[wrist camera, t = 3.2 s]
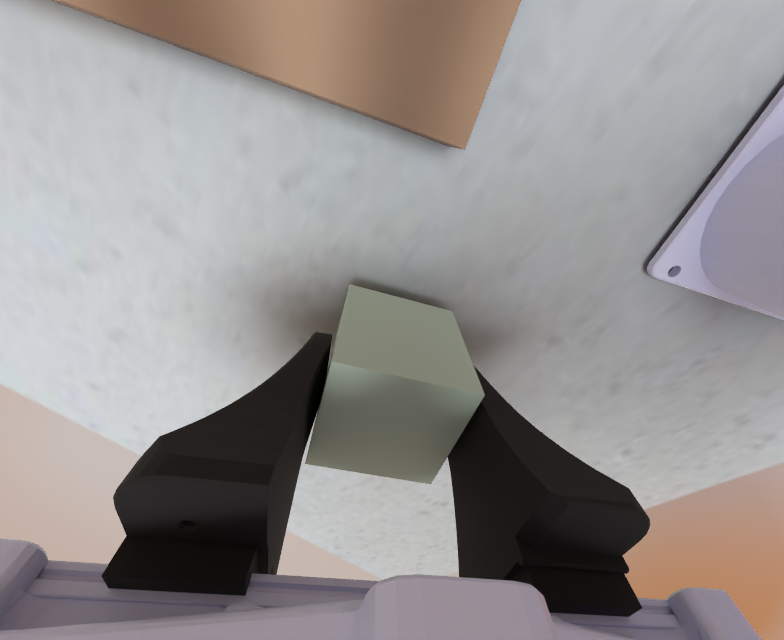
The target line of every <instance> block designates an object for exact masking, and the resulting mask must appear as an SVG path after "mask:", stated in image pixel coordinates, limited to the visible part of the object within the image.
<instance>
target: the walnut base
mask: <svg viewBox="0 0 784 640" xmlns="http://www.w3.org/2000/svg"><path fill="white" fill-rule="evenodd" d="M53 1H56V2H58V3H61V4H64V5H66V6H69V7H72V8H75V9H77V10H80V11H83V12H85V13H88V14H91V15H94V16H96V17H99V18H102V19H104V20H107V21H110V22H113V23H115V24H118V25H121V26H124V27H126V28H129V29H132V30H134V31H137V32H140V33H143V34H145V35H148V36H151V37H153V38H156V39H159V40H162V41H164V42H167V43H170V44H172V45H175V46H178V47H181V48H183V49H186V50H189V51H192V52H194V53H197V54H200V55H202V56H205V57H208V58H211V59H213V60H216V61H219V62H221V63H224V64H227V65H230V66H232V67H235V68H238V69H240V70H243V71H246V72H249V73H251V74H254V75H257V76H260V77H262V78H265V79H268V80H270V81H273V82H276V83H279V84H281V85H284V86H287V87H289V88H292V89H295V90H298V91H300V92H303V93H306V94H308V95H311V96H314V97H317V98H319V99H322V100H325V101H328V102H330V103H333V104H336V105H338V106H341V107H344V108H347V109H349V110H352V111H355V112H357V113H360V114H363V115H366V116H368V117H371V118H374V119H376V120H379V121H382V122H385V123H387V124H390V125H393V126H396V127H398V128H401V129H404V130H406V131H409V132H412V133H415V134H417V135H420V136H423V137H425V138H428V139H431V140H434V141H436V142H439V143H442V144H444V145H447V146H450V147H455V148H461V149H465V148H466V145H467V142H468V140H469V137H470V134H471V132H472V129H473V126H474V124H475V121H476V118H477V116H478V113H479V110H480V108H481V105H482V102H483V100H484V97H485V94H486V92H487V89H488V86H489V84H490V81H491V79H492V76H493V73H494V71H495V68H496V65H497V63H498V60H499V57H500V55H501V52H502V49H503V47H504V44H505V41H506V39H507V36H508V33H509V31H510V28H511V25H512V23H513V20H514V18H515V15H516V12H517V10H518V7H519V4H520V2H521V0H53Z"/></svg>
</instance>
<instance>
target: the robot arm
mask: <svg viewBox="0 0 784 640" xmlns="http://www.w3.org/2000/svg"><path fill="white" fill-rule="evenodd" d="M672 267H673V269H672V270H671V271H670V272H669V273H668V271H669V270H670V269H671V268H672ZM647 272H648V274H649V275H651V276H653V277H655V278H657V279H660V280H663V281H666V282H669V283H672V284H675V285H678V286H681V287H684V288H687V289H690V290H693V291H696V292H699V293H702V294H705V295H708V296H711V297H714V298H717V299H720V300H723V301H726V302H729V303H733V304H736V305H739V306H742V307H745V308H748V309H751V310H754V311H757V312H760V313H763V314H766V315H769V316H772V317H775V318H778V319H781V320H784V85H783V86H782V88H781V89H780V90H779V92H778V93H777V94H776V96H775V97H774V98H773V100H772V101H771V102H770V104H769V105H768V106H767V108H766V109H765V110H764V112H763V113H762V114H761V116H760V117H759V118H758V120H757V121H756V122H755V123H754V125H753V126H752V127H751V129H750V130H749V131H748V133H747V134H746V135H745V137H744V138H743V139H742V141H741V142H740V143H739V145H738V146H737V147H736V149H735V150H734V151H733V153H732V154H731V155H730V157H729V158H728V159H727V161H726V162H725V163H724V164H723V166H722V167H721V168H720V170H719V171H718V172H717V174H716V175H715V176H714V178H713V179H712V180H711V182H710V183H709V184H708V186H707V187H706V188H705V190H704V191H703V192H702V194H701V195H700V196H699V198H698V199H697V200H696V201H695V203H694V204H693V205H692V207H691V208H690V209H689V211H688V212H687V213H686V215H685V216H684V217H683V219H682V220H681V221H680V223H679V224H678V225H677V227H676V228H675V229H674V231H673V232H672V233H671V235H670V236H669V237H668V239H667V240H666V241H665V242H664V244H663V245H662V246H661V248H660V249H659V250H658V252H657V253H656V254H655V256H654V257H653V258H652V260H651V261H650V262H649V264H648V266H647ZM331 340H332V335H331V334H324V333H318V332H316V333H315V334H313V335H312V337H311V338H310V339H309V340H308V342H307V343H306V344H305V345H304V346H303V347H302V348H301V350H300V351H299V352H298V353H297V354H296V355H295V356H294V357H293V358H292V359H291V360H290V361H289V362H287V363H286V364H285V365H284V366H283V367H282V368H281V369H279V370H278V371H277V372H276V373H275V374H274V375H272V376H271V377H270V378H269V379H267V380H266V381H265V382H263V383H262V384H261V385H259V386H258V387H257V388H255V389H254V390H252V391H251V392H249V393H248V394H246V395H244V396H243V397H241V398H240V399H238V400H237V401H235V402H233V403H232V404H230V405H228V406H226V407H224V408H222V409H220V410H219V411H217V412H215V413H213V414H211V415H209V416H207V417H205V418H203V419H201V420H198V421H196V422H194V423H192V424H189V425H187V426H184V427H182V428H180V429H177V430H175V431H172V432H170V433H168V434H165V435H162V436H160V437H159V438H158V439H157V440H156V441H155V442H154V443H153V445H152V446H151V447H150V448H149V449H148V450H147V451H146V452H145V453H144V454H143V455H142V456H141V458H140V459H139V460H138V461H137V463H136V464H135V465H134V467H133V468H132V469H131V471H130V472H129V474H128V475H127V476H126V477H125V479H124V480H123V481H122V483H121V484H120V485H119V487H118V488H117V490H116V492H115V494H114V497H113V499H114V505H115V509H116V511H117V514H118V516H119V518H120V521H121V523H122V525H123V528H124V530H125V532H126V535H127V536H126V538H125V539H124V541H123V542H122V544H121V546H120V547H119V549H118V550H117V552H116V554H115V555H114V557H113V558H112V560H111V561H110V563H109V564H98V563H81V562H66V561H51V560H48V559H47V555H46V552H45V551H44V550H43V548H41V547H40V546H39V545H37V544H34V543H31V542H27V541H21V540H7V539H0V640H762V639H761V638H760V637H759V635H758V634H757V633H756V631H755V630H754V629H753V627H752V626H751V625H750V623H749V622H748V621H747V619H746V618H745V617H744V615H743V614H742V613H741V611H740V610H739V609H738V607H737V606H736V605H735V603H734V602H733V601H732V599H731V598H730V596H729V595H728V594H727V593H726V592H725V591H723V590H721V589H707V588H684V589H680V590H678V591H676V592H674V593H673V594H671V595H670V596H669V597H668V598H667V600H663V599H647V598H637V597H636V595H635V593H634V591H633V590H632V588H631V586H630V584H629V582H628V580H627V578H626V577H625V575H624V574H626V573H628V572H629V568H628V566H627V564H626V562H625V560H624V558H623V557H622V555H623V554H625V553H626V552H627V551H628V550H629V549H631V548H632V547H633V546H634V545H636V543H638V542H639V541H640V540H641V539H642V538H643V537H644V536H645V535H646V534H647V532H648V529H649V526H650V520H649V517H648V516H647V515H646V513H645V512H644V510H643V508H642V507H641V506H640V504H639V503H638V501H637V500H636V498H635V497H634V495H633V494H632V492H631V491H630V489H629V488H627V487H625V486H623V485H622V484H620V483H618V482H616V481H615V480H613V479H611V478H609V477H608V476H606V475H604V474H602V473H601V472H599V471H597V470H595V469H594V468H592V467H590V466H589V465H587V464H586V463H584V462H583V461H581V460H579V459H578V458H576V457H575V456H573V455H572V454H570V453H569V452H567V451H566V450H564V449H563V448H562V447H560V446H559V445H557V444H556V443H555V442H553V441H552V440H551V439H549V438H548V437H547V436H545V435H544V434H543V433H542V432H540V431H539V430H538V429H536V428H535V427H534V426H533V425H532V424H531V423H529V422H528V421H527V420H526V419H525V418H524V417H522V416H521V415H520V414H519V413H518V412H517V411H516V410H515V409H514V408H513V407H512V406H511V405H510V404H509V403H508V402H507V401H506V400H505V399H504V398H503V397H502V396H501V395H500V394H499V393H498V392H497V391H496V390H495V389H494V388H493V387H492V386H491V385H490V383H489V382H488V381H487V380H486V379H485V378H484V377H483V376H482V375H481V373H480V372H479V371H478V370H477V369H476V368H475V367H474V368H475V371H476V373H477V376H478V378H479V381H480V384H481V386H482V389H483V391H484V394H485V396H484V397H483V399H482V401H481V402H480V404H479V406H478V407H477V409H476V411H475V412H474V414H473V415H472V417H471V419H470V420H469V422H468V424H467V425H466V427H465V429H464V430H463V432H462V434H461V435H460V437H459V439H458V440H457V442H456V443H455V445H454V447H453V448H452V450H451V452H450V453H449V455H448V461H449V466H450V471H451V478H452V487H453V496H454V506H455V517H456V529H457V544H458V559H459V577H448V576H434V575H419V574H418V575H399V576H394V577H391V578H388V579H385V580H382V581H365V580H349V579H334V578H333V579H332V578H317V577H302V576H287V575H286V576H285V575H276V573H277V569H278V564H279V560H280V555H281V550H282V546H283V541H284V537H285V532H286V528H287V523H288V519H289V514H290V510H291V505H292V501H293V496H294V492H295V487H296V483H297V479H298V474H299V470H300V466H301V461H302V457H303V454H304V450H305V447H306V444H307V441H308V438H309V435H310V432H311V429H312V426H313V423H314V420H315V417H316V414H317V411H318V408H319V405H320V401H321V396H322V392H323V388H324V384H325V380H326V376H327V369H328V362H329V355H330V347H331Z"/></svg>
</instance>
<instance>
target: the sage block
mask: <svg viewBox="0 0 784 640" xmlns="http://www.w3.org/2000/svg"><path fill="white" fill-rule="evenodd" d="M484 396H485V394H484V391H483V389H482V386H481V384H480V381H479V378H478V376H477V373H476V371H475V368H474V365H473V363H472V360H471V358H470V355H469V352H468V350H467V347H466V345H465V342H464V339H463V337H462V334H461V332H460V329H459V326H458V324H457V321H456V319H455V316H454V313H453V311H450V310H446V309H442V308H438V307H435V306H431V305H427V304H423V303H419V302H416V301H412V300H408V299H404V298H400V297H397V296H393V295H389V294H385V293H381V292H378V291H374V290H370V289H366V288H362V287H359V286H355V285H351V284H349V287H348V291H347V295H346V299H345V303H344V307H343V311H342V315H341V319H340V323H339V327H338V331H337V335H336V338H335V342H334V346H333V350H332V354H331V358H330V362H329V366H328V370H327V376H326V380H325V384H324V388H323V392H322V396H321V401H320V405H319V408H318V412H317V416H316V420H315V425H314V429H313V433H312V437H311V441H310V446H309V450H308V454H307V458H306V462H305V464H310V465H316V466H322V467H328V468H334V469H341V470H347V471H353V472H359V473H365V474H371V475H378V476H384V477H390V478H396V479H402V480H408V481H415V482H421V483H427V484H431V483H432V481H433V480H434V478H435V476H436V475H437V473H438V471H439V470H440V468H441V466H442V465H443V463H444V462H445V460H446V458H447V457H448V455H449V453H450V452H451V450H452V448H453V447H454V445H455V443H456V442H457V440H458V439H459V437H460V435H461V434H462V432H463V430H464V429H465V427H466V425H467V424H468V422H469V420H470V419H471V417H472V415H473V414H474V412H475V411H476V409H477V407H478V406H479V404H480V402H481V401H482V399H483V397H484Z"/></svg>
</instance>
